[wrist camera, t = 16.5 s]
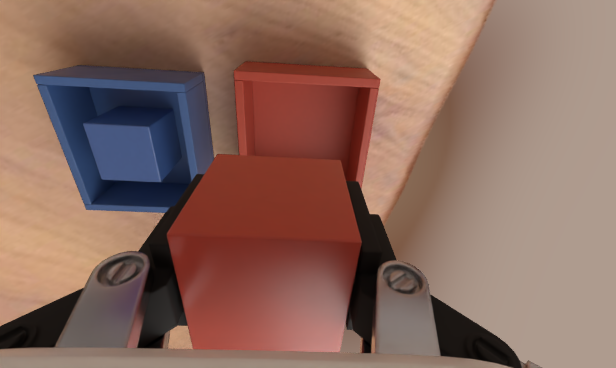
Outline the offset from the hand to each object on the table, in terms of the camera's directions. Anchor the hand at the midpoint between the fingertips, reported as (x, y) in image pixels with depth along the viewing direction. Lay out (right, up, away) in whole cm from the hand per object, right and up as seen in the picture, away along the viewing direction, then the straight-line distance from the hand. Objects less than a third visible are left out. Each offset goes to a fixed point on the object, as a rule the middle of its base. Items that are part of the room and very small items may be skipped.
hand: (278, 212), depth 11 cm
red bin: (+1, +6, +14) cm, 15 cm away
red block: (0, 0, 0) cm, 0 cm away
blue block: (-12, +5, +14) cm, 19 cm away
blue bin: (-12, +6, +14) cm, 20 cm away
